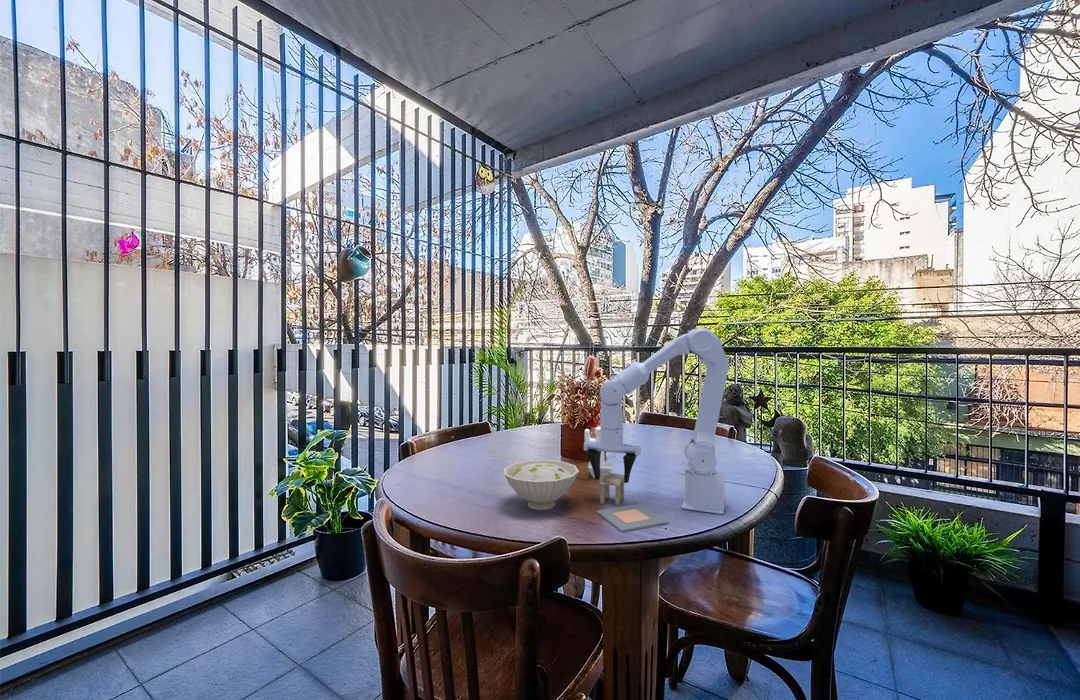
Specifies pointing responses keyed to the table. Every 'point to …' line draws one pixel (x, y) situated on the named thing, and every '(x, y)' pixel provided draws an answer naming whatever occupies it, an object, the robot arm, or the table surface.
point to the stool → (612, 480)
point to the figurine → (604, 466)
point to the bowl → (541, 481)
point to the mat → (631, 517)
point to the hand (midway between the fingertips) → (611, 480)
